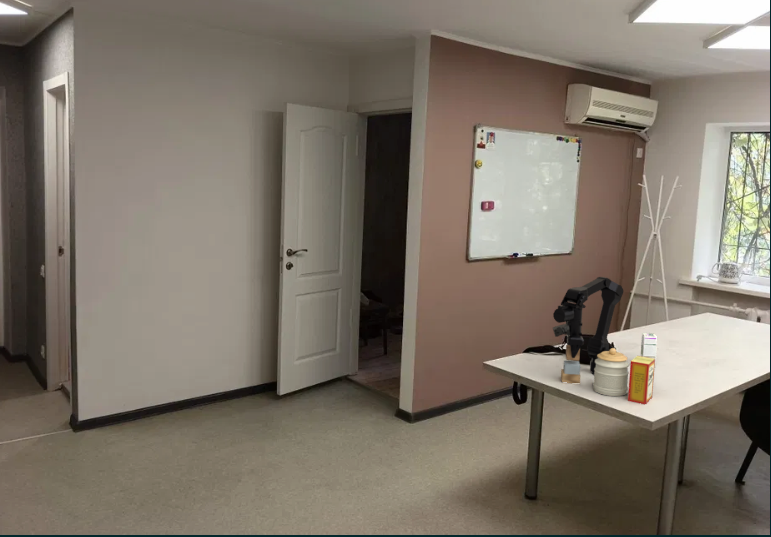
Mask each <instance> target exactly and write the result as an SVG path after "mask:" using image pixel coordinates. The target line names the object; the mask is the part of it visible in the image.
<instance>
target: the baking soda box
mask: <svg viewBox="0 0 771 537" xmlns="http://www.w3.org/2000/svg"><path fill="white" fill-rule="evenodd" d="M655 368H656V367H655V359H654V358H648V357H643V356H641V355H637V356H635V357H634V358H633V359H632V360H630V363H629V376H628V391H627V401H628V402H631V403H636V404H640V403H641V405H645V404H646V405H647V404H648V403H649V402H650V401H651V400H650V399H652V398H653V393H654V392H653V391H654V381H655V380H654V379H655ZM649 400H650V401H649Z"/></svg>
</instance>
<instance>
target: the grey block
mask: <svg viewBox="0 0 771 537" xmlns="http://www.w3.org/2000/svg"><path fill="white" fill-rule="evenodd" d="M562 369H563V370H564V373H565V374H575V375H580V376H581V364H580V360H579V361H578V360H567V359H566V360H565V359H564V360H563V368H562Z"/></svg>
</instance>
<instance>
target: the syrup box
mask: <svg viewBox="0 0 771 537" xmlns="http://www.w3.org/2000/svg"><path fill="white" fill-rule="evenodd" d="M657 347H658V336H657V335H656V334H655V333H650V332H646V333H645V332H643V333H641V345H640V356H643V357H648V358H654V359H655V368H656V365H657V363H656V362H657V349H658V348H657Z"/></svg>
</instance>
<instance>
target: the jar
mask: <svg viewBox="0 0 771 537" xmlns="http://www.w3.org/2000/svg"><path fill="white" fill-rule="evenodd" d="M597 357H598V358H597V359H596V360H595V363H596V367H595V368H594V370H595V372H594V374H593V383H592V384H593V385H592V387H593V391H594V392H596V393H597V392H598V394H601V395H604V396H608V397H622V396H625V395H627V394H628V391H629V375H630V371H628V370H629V368H630V363H629V362H628V357H627V356H626V355H625V354H624V353H622V352H618V351H617V350H616V348H614V347H612V348H610V349H609V351H604V352H601V353H600V354H598V355H597Z"/></svg>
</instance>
